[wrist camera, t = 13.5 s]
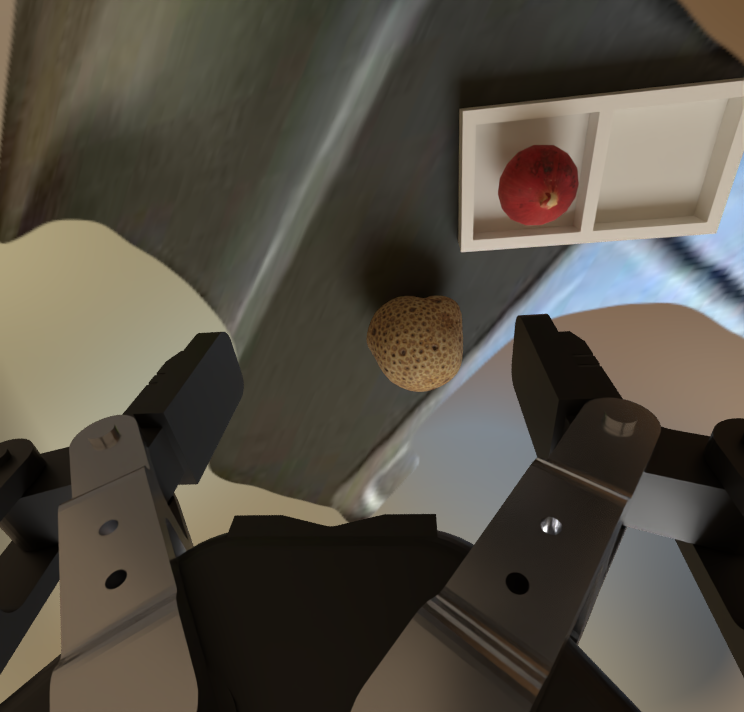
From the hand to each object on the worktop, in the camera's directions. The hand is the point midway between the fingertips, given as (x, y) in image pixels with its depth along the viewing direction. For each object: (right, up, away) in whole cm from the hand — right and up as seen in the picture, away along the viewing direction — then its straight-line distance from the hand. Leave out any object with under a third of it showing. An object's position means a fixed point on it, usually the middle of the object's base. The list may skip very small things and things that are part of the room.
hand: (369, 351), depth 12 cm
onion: (+13, +15, +25) cm, 32 cm away
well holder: (+18, +16, +24) cm, 34 cm away
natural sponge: (+4, +4, +33) cm, 34 cm away
